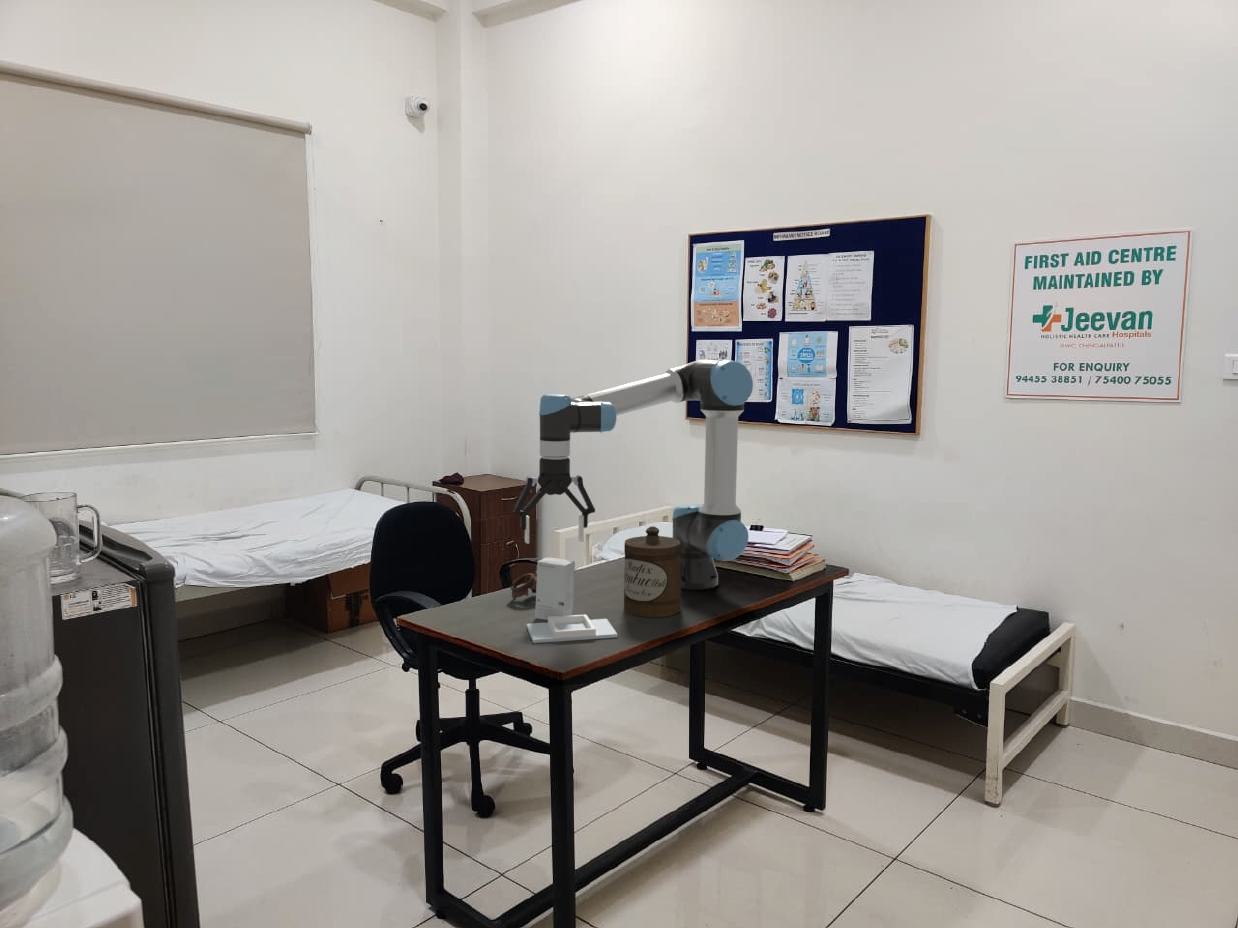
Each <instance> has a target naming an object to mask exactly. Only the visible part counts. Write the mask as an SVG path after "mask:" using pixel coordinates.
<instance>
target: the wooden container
mask: <svg viewBox="0 0 1238 928" xmlns="http://www.w3.org/2000/svg"><path fill="white" fill-rule="evenodd" d="M659 533H660V529H659V528H658V527H656V526H653V525H652V526H649V527H647V528H646V530H645V534H646V535H645V536H644V535H643V536H642V535H641V536H634V537H631V538H628V539H626V540H624V571H623V573H624V575H623V577H624V578H623V608H624V609H623V610H624V611H625V612H627V613H628V614H631V615H633V616H638V617H641V618H642V617H643V618H665V617H669V616H673V615H676V614H678V613H679V612H680V611H681V597H682V596H681V594H682V589H681V566H680V550H681V549H680V541H679V540H677V539H675V538H673V537H670V536H663V535H660V534H659Z"/></svg>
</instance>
